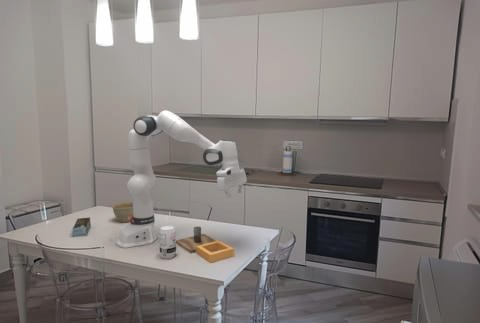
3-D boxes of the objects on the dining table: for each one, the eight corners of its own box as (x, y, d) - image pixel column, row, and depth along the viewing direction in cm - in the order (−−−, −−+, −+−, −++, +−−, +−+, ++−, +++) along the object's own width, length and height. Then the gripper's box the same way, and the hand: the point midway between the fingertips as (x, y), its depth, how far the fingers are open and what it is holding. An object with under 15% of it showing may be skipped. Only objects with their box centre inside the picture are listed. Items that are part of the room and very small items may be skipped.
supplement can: (161, 253, 178) (160, 225, 176) (177, 252, 179) (176, 224, 177) (158, 259, 170) (157, 230, 168) (175, 259, 171) (174, 230, 169)
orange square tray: (210, 262, 166) (210, 255, 166) (196, 253, 178) (196, 246, 177) (234, 255, 175) (233, 248, 174) (219, 247, 186) (218, 240, 185)
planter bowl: (116, 217, 240) (115, 202, 239) (140, 216, 242) (139, 201, 241) (110, 224, 224) (109, 208, 223) (135, 223, 226) (135, 207, 225)
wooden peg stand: (191, 253, 178) (190, 235, 177) (175, 242, 192) (175, 226, 191) (220, 245, 189) (219, 228, 187) (203, 236, 203) (203, 220, 202)
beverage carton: (72, 237, 201) (71, 226, 200) (77, 227, 219) (77, 217, 219) (87, 236, 204) (86, 225, 203) (91, 226, 222) (90, 216, 221)
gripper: (238, 165, 190) (241, 190, 191) (213, 173, 174) (217, 199, 176) (247, 165, 186) (250, 190, 188) (223, 173, 170) (226, 200, 172)
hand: (234, 195), depth 182 cm, fingers open, 8 cm apart
